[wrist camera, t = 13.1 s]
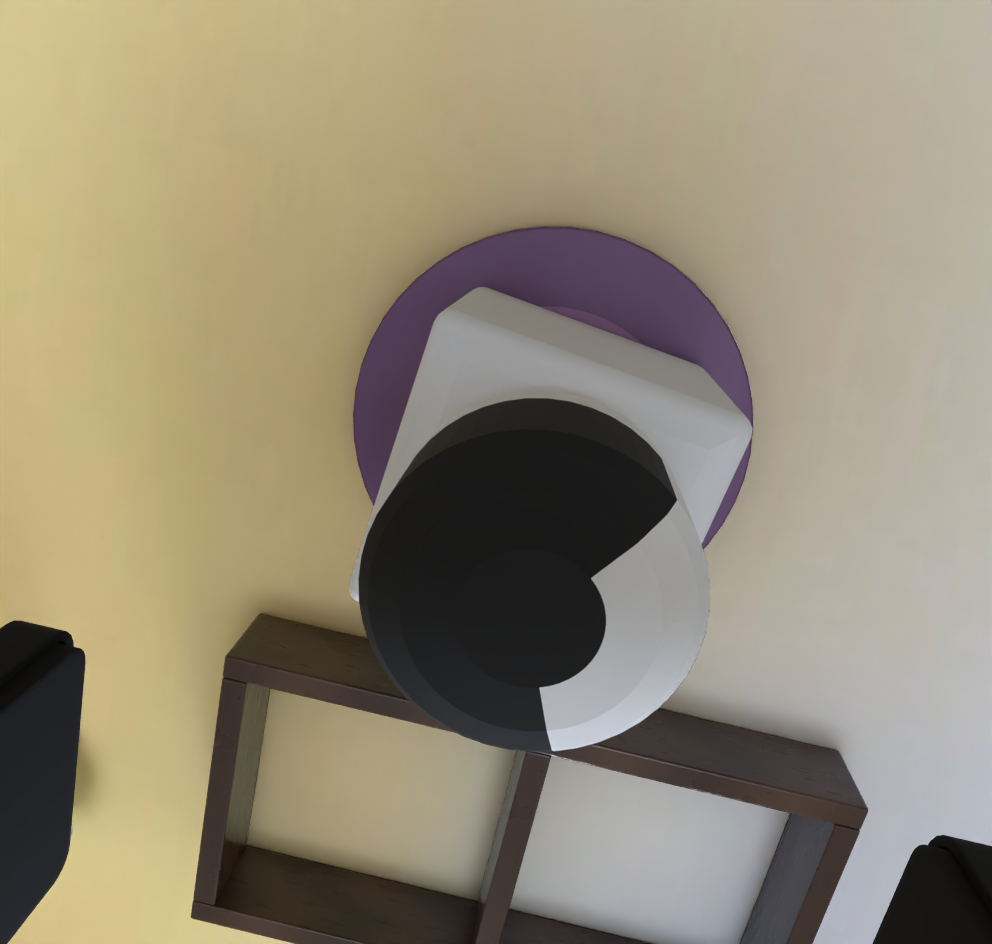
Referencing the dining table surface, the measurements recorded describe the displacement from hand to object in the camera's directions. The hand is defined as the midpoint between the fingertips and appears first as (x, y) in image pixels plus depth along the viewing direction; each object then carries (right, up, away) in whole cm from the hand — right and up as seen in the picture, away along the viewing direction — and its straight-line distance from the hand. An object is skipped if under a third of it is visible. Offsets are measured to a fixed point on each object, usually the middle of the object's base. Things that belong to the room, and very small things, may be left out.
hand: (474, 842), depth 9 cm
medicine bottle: (+2, +5, +16) cm, 17 cm away
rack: (+1, -8, +21) cm, 23 cm away
